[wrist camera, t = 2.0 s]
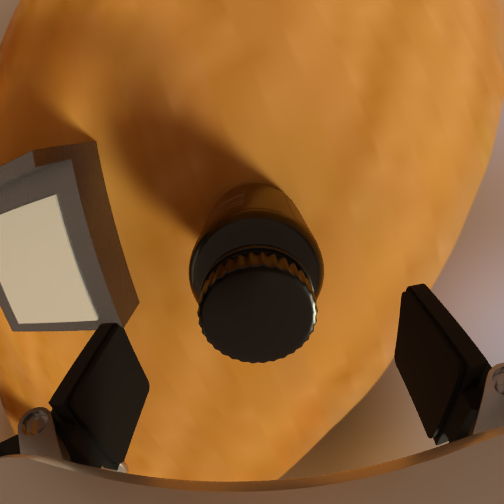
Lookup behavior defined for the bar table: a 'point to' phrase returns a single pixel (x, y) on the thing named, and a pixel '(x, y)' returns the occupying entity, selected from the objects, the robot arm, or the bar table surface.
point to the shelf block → (60, 244)
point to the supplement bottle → (256, 275)
